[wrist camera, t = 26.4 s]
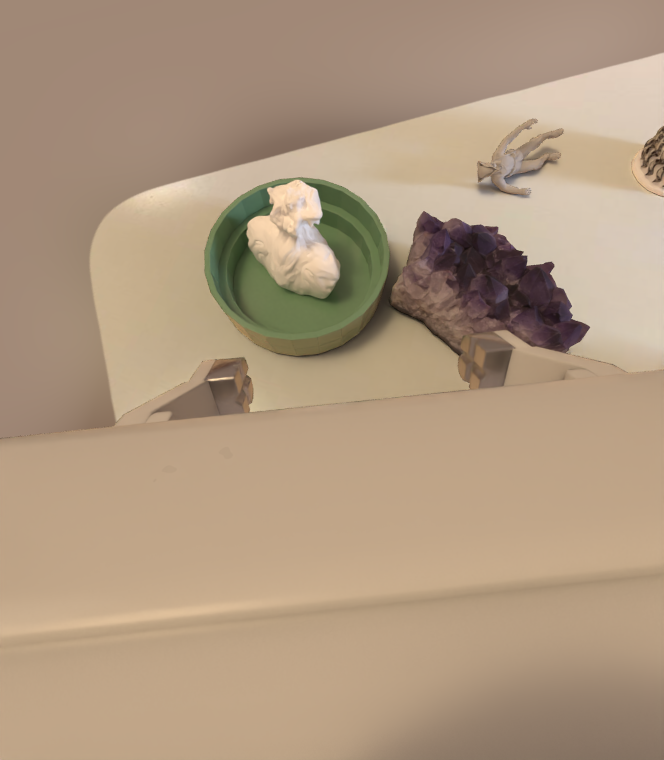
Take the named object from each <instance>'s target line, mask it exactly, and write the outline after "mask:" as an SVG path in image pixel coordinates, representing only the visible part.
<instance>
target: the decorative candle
mask: <svg viewBox="0 0 664 760" xmlns="http://www.w3.org/2000/svg"><path fill="white" fill-rule="evenodd" d="M632 172H633V174H634V176H635V177H636V179H637V181H638V182H639V183H640V184H641V185H642V186H643V187H645V188H646V189H647V190H648V191H651V192H653V193H655V194H657V195H660V196H664V126H663V127H661V128H660V129H659V130H658V132H657V134H656V135H655V136H654V137H653V138H652V139H650V140H648V141H647V142H646V144H645V146H644V148H643V149H641V150H640V151H638V152H637V153H636V155H635V157H634V159H633V161H632Z"/></svg>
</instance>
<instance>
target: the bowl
mask: <svg viewBox="0 0 664 760" xmlns="http://www.w3.org/2000/svg"><path fill="white" fill-rule="evenodd" d="M294 180H301V181H302V182H304V183H305V184H306V185H309V186H310V187H313V188H315V189H317V191H318V196H319V199H320V204H321V210H322V214H323V215H322V218H321V219H320V223H319V224H313V225H314V226H315V227H316V228H317V229H318V231H319V232H320V234H321V235H322V237H323V238H324V239H325V240H326V241H327V243H328V246H329V247H330V248H331V249H332V251H333V252H334V255H335V257H336V259H337V260H338V261H339V263H340V278H339V280H338V281H337V283H336V284H335V287H334V289H333V290H332V292H331V293H330V294H329V296H328V297H326V298H324V299H320V298H317V297H313V296H311V295H299V294H297V293H295V292H293V291H290V290H287V289H285V288H282V287H280V286H279V285H278V284H277V283H276V281H275V280H274V279H273V278H272V277H271V276H270V274H269V273H268V271H267V269H266V268H265V267H264V266H263V265H262V264H261V263H260V262H259V261H258V260H257V259H256V258H255V256H254V254H253V253H252V252H251V251H250V249H249V246H248V242H249V239H248V237H247V235H246V232H247V230H248V227H247V224H248V222H249V221H250V220H252V219H253V218H255V217H257V216H268V215H270V213H271V211H272V209H273V205H274V203H273V204H270V202H269V200H270V195H269V193H268V191H267V189H268V188H269V187H271V188H275V187H276V186H280V185H286V184H288V183H290V182H292V181H294ZM389 258H390V252H389V246H388V240H387V235H386V232H385V230H384V228H383V226H382V224H381V222H380V220H379V218H378V216H377V214H376V213H375V212H374V211H373V210H372V209H371V208H370V207H369V206H368V205H367V203H366V202H365V201H364V200H363V199H362V198H360V197H359V196H357V195H355V194H354V193H352V192H351V191H349V190H348V189H346V188H344V187H342V186H339V185H336V184H334V183H331V182H328V181H325V180H320V179H311V178H303V177H302V178H301V177H299V178H289V179H279V180H275V181H272V182H269V183H266V184H263V185H260V186H257V187H255V188H254V189H252V190H250V191H248V192H247V193H245V194H243V195H241V196H240V197H238V198H237V199H236V200H235V201H234V202H233V203H232V204H231V205H230V206H229V207H227V208H226V209H225V210H224V211H223V212H222V213H221V215H220V217H219V218H218V220H217V221H216V223H215V224H214V226H213V228H212V229H211V231H210V234H209V238H208V241H207V244H206V248H205V276H206V279H207V282H208V285H209V288H210V291H211V294H212V295H213V297H214V298H215V300H216V301H217V302H218V304H219V305H220V307H221V308H222V310H223V311H224V312H225V314H226V315H227V316H228V318H229V319H230V320H231V321H232V323H233V324H234V325H235V327H236V328H237V329H238V330H239V331H240V332H241V333H242V334H243V335H245V336H246V337H247V338H248V339H249V340H251V341H252V342H253V343H254V344H256V345H259V346H261V347H263V348H266V349H268V350H270V351H273V352H275V353H281V354H288V355H294V356H302V355H311V354H320V353H323V352H326V351H328V350H331V349H334V348H337V347H339V346H341V345H343V344H344V343H346V342H347V341H349V340H350V339H352V338H353V337H354V336H356V335H357V334H359V333H360V331H361V330H362V329H363V328H364V327H365V326H366V324H367V323H368V322H369V321H370V320H371V318H372V317H373V315H374V312H375V310H376V308H377V306H378V304H379V301H380V299H381V295H382V292H383V288H384V285H385V282H386V278H387V274H388V266H389Z"/></svg>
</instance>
